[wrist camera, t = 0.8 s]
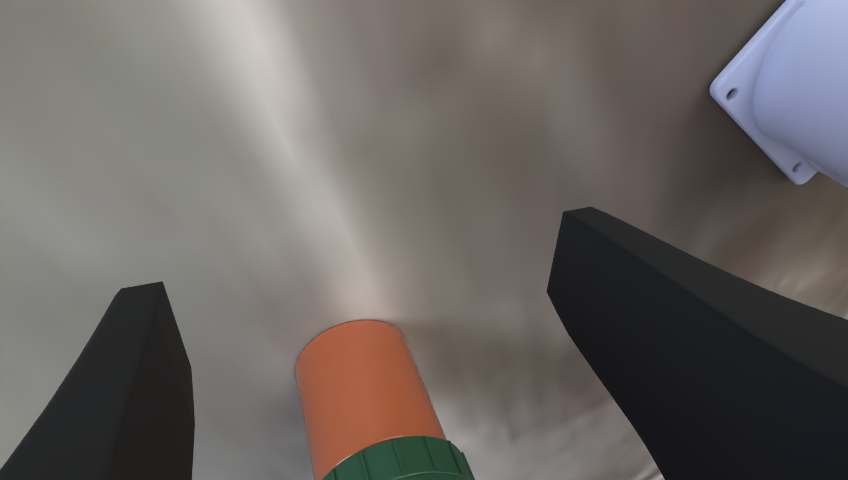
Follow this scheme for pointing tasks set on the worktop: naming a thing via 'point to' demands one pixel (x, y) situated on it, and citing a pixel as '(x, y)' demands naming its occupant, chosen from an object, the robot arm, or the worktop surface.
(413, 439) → the jar lid
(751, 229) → the worktop surface
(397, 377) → the jar
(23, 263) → the worktop surface
